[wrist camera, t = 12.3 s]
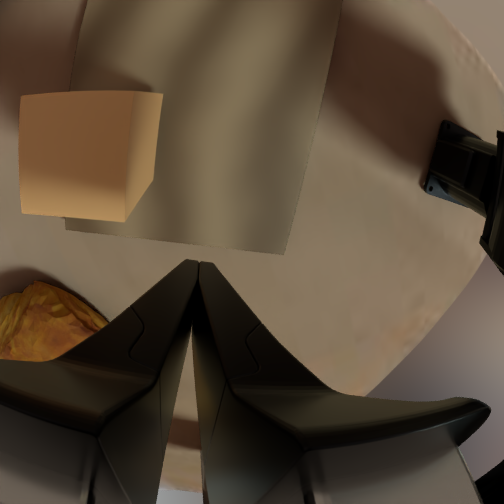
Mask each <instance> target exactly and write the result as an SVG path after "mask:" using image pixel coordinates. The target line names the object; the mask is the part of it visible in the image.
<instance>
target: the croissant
mask: <svg viewBox="0 0 504 504" xmlns="http://www.w3.org/2000/svg"><path fill="white" fill-rule="evenodd" d="M33 282H34V285H33V284H30V285H29V286H28V287H26V288H25V289H24V291H23V293H18V292H17V293H12V294H9V295H7V296H3V298H2V299H1V300H0V359H6V360H19V361H34V362H43V361H49V360H52V359H54V358H57V357H59V356H60V355H62V354H64V353H65V352H67V351H68V350H70V349H71V348H73V347H74V346H76V345H77V344H79V343H80V342H82V341H83V340H85V339H86V338H88V337H89V336H91V335H92V334H94V333H95V332H97V331H98V330H100V329H101V328H103V327H104V326H105V325H107V324H108V322H107V321H106V320H105V319H104V318H103V317H102V316H101V315H99V314H98V313H96V312H95V311H94V310H92V309H91V308H90V307H89V306H88V305H86V304H85V303H83V302H82V301H80V300H78V299H77V298H76V297H75V296H73V295H72V294H70V293H68V292H66V291H64V290H61V289H60V288H57V287H54V286H51V285H49V284H46V283H44V282H40V281H35V280H34V281H33Z"/></svg>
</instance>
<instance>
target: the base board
mask: <svg viewBox="0 0 504 504" xmlns="http://www.w3.org/2000/svg"><path fill="white" fill-rule="evenodd" d="M342 1H343V0H88V2H87V6H86V9H85V13H84V17H83V21H82V25H81V29H80V33H79V38H78V42H77V47H76V52H75V57H74V63H73V69H72V75H71V82H70V89H69V92H70V91H103V90H116V91H141V92H152V93H161V94H163V99H162V106H161V113H160V121H159V129H158V137H157V146H156V156H155V166H154V178H153V181H152V182H151V184H150V185H149V187H148V188H147V190H146V191H145V192H144V194H143V195H142V197H141V198H140V200H139V201H138V203H137V204H136V206H135V207H134V209H133V210H132V212H131V213H130V215H129V216H128V218H127V220H126V221H125V222H115V221H104V220H93V219H83V218H71V217H65V227H66V230H72V231H80V232H89V233H98V234H106V235H115V236H124V237H132V238H141V239H150V240H158V241H167V242H176V243H184V244H193V245H202V246H210V247H219V248H228V249H236V250H245V251H254V252H262V253H271V254H279V255H284V253H285V249H286V245H287V242H288V238H289V234H290V230H291V226H292V222H293V219H294V215H295V211H296V207H297V203H298V199H299V195H300V191H301V187H302V183H303V179H304V175H305V171H306V167H307V163H308V159H309V154H310V150H311V146H312V142H313V138H314V133H315V129H316V125H317V120H318V116H319V112H320V107H321V103H322V98H323V94H324V89H325V85H326V80H327V76H328V71H329V66H330V61H331V57H332V52H333V47H334V42H335V37H336V32H337V27H338V22H339V17H340V12H341V7H342Z"/></svg>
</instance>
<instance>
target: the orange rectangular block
mask: <svg viewBox="0 0 504 504" xmlns="http://www.w3.org/2000/svg"><path fill="white" fill-rule="evenodd" d="M162 99H163V94H161V93H152V92H141V91H116V90H103V91H70V92H54V93H42V94H32V95H24V96H21V102H20V116H19V182H20V197H21V208H22V213H24V214H37V215H48V216H60V217H71V218H83V219H93V220H104V221H115V222H125V221H126V220H127V218H128V216H129V215H130V213H131V212H132V210H133V209H134V207H135V206H136V204H137V203H138V201H139V200H140V198H141V197H142V195H143V194H144V192H145V191H146V190H147V188H148V187H149V185H150V184H151V182H152V181H153V178H154V166H155V156H156V146H157V137H158V129H159V121H160V113H161V106H162Z"/></svg>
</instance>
